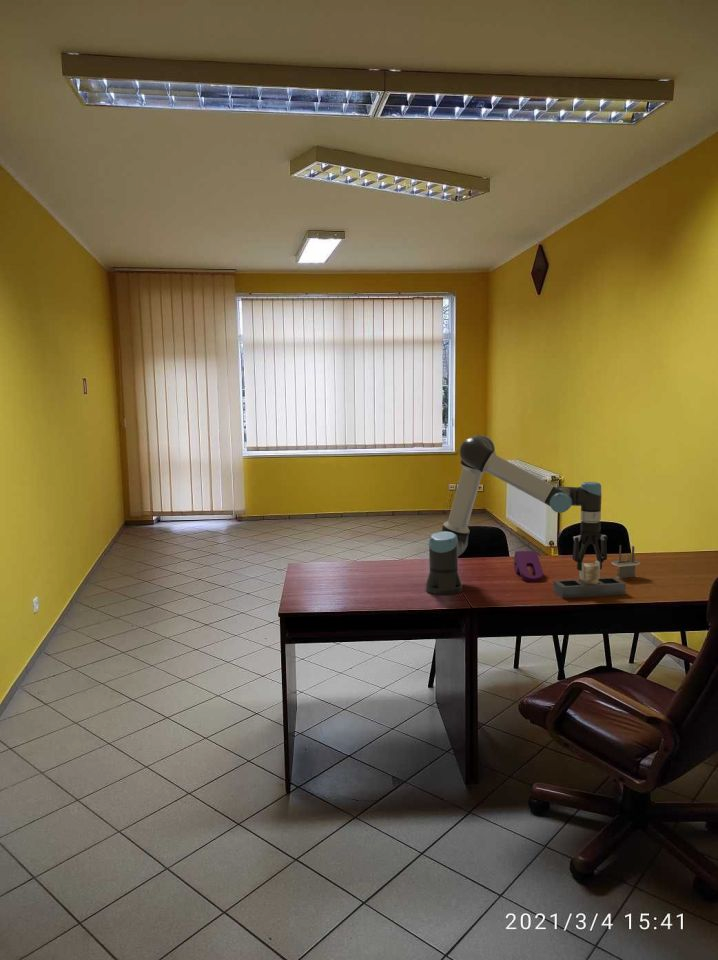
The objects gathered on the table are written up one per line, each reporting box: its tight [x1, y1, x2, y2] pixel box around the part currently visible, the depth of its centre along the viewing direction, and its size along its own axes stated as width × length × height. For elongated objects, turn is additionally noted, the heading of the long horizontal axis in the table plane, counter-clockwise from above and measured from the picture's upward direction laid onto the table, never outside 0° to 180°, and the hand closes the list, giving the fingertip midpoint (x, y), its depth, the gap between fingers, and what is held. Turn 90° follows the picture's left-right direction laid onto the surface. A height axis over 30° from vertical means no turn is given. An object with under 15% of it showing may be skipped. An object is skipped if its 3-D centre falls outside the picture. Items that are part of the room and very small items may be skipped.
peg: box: [580, 562, 599, 585], centre depth 265 cm, size 5×5×12 cm
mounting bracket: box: [513, 550, 544, 582], centre depth 292 cm, size 9×8×18 cm
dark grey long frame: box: [552, 576, 627, 599], centre depth 265 cm, size 26×9×4 cm, turn 96°
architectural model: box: [611, 544, 641, 580], centre depth 285 cm, size 21×25×14 cm
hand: (589, 577), depth 265 cm, fingers open, 6 cm apart
